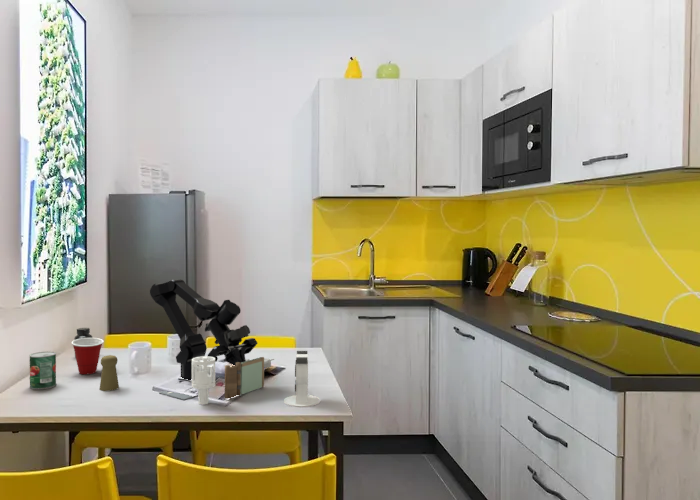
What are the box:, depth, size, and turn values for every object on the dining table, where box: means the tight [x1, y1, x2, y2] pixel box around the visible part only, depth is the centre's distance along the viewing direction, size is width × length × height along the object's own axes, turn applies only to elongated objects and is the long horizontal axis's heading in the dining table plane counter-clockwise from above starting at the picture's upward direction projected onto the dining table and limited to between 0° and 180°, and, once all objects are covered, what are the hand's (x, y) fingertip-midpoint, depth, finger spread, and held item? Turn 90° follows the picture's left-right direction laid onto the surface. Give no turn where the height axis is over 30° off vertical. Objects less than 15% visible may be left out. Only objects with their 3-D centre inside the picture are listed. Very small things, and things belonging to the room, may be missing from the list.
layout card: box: [158, 390, 193, 401], centre depth 185 cm, size 12×9×1 cm
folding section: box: [241, 356, 265, 395], centre depth 189 cm, size 2×11×10 cm, turn 147°
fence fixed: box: [224, 362, 242, 399], centre depth 181 cm, size 2×6×11 cm, turn 147°
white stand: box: [283, 350, 321, 408], centre depth 179 cm, size 12×11×15 cm
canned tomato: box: [29, 351, 57, 390], centre depth 191 cm, size 8×8×11 cm
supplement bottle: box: [73, 327, 94, 359], centre depth 232 cm, size 7×7×12 cm
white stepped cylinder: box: [191, 355, 216, 406], centre depth 175 cm, size 7×7×15 cm
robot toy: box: [245, 358, 275, 368], centre depth 215 cm, size 12×4×15 cm
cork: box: [99, 354, 120, 392], centre depth 190 cm, size 6×6×11 cm
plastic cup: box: [71, 337, 104, 375], centre depth 209 cm, size 11×11×12 cm
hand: (245, 370), depth 188 cm, fingers closed
